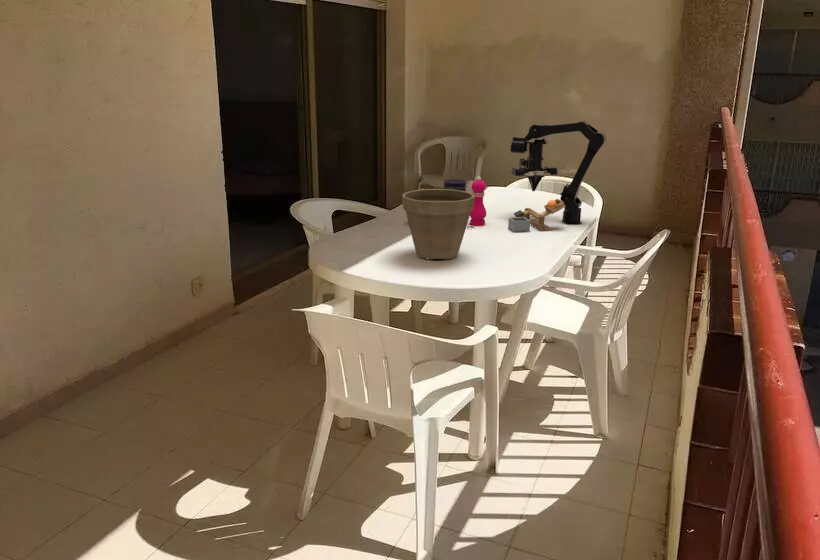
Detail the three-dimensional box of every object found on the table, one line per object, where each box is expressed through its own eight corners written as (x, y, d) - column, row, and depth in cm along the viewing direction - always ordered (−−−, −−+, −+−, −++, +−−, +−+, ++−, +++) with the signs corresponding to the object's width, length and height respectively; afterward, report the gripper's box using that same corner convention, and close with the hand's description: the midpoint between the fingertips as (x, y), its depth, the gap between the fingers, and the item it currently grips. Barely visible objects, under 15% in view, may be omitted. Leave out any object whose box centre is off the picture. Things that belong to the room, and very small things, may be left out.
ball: (555, 202, 270) (550, 197, 269) (559, 204, 267) (553, 199, 265) (550, 209, 270) (544, 204, 269) (553, 211, 267) (547, 206, 266)
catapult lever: (549, 199, 281) (547, 193, 280) (565, 207, 266) (563, 201, 265) (515, 217, 281) (513, 212, 280) (529, 227, 266) (527, 221, 265)
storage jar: (465, 212, 299) (466, 179, 294) (465, 217, 290) (466, 183, 285) (443, 211, 300) (444, 179, 295) (442, 216, 291) (443, 182, 286)
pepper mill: (485, 226, 274) (487, 178, 268) (467, 225, 275) (469, 177, 269) (486, 222, 281) (488, 175, 274) (469, 221, 282) (471, 174, 276)
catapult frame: (535, 220, 284) (536, 207, 283) (552, 230, 268) (553, 217, 266) (523, 221, 283) (524, 208, 282) (539, 231, 267) (540, 217, 265)
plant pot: (431, 241, 252) (431, 184, 245) (486, 253, 237) (488, 193, 230) (387, 256, 233) (387, 195, 226) (444, 269, 218) (445, 205, 212)
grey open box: (523, 227, 272) (524, 216, 271) (529, 231, 266) (530, 220, 265) (508, 228, 271) (508, 217, 270) (513, 232, 265) (514, 221, 263)
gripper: (549, 151, 288) (546, 187, 293) (508, 152, 285) (506, 188, 290) (559, 154, 278) (556, 191, 283) (517, 156, 274) (515, 193, 279)
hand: (533, 191), depth 284 cm, fingers closed
